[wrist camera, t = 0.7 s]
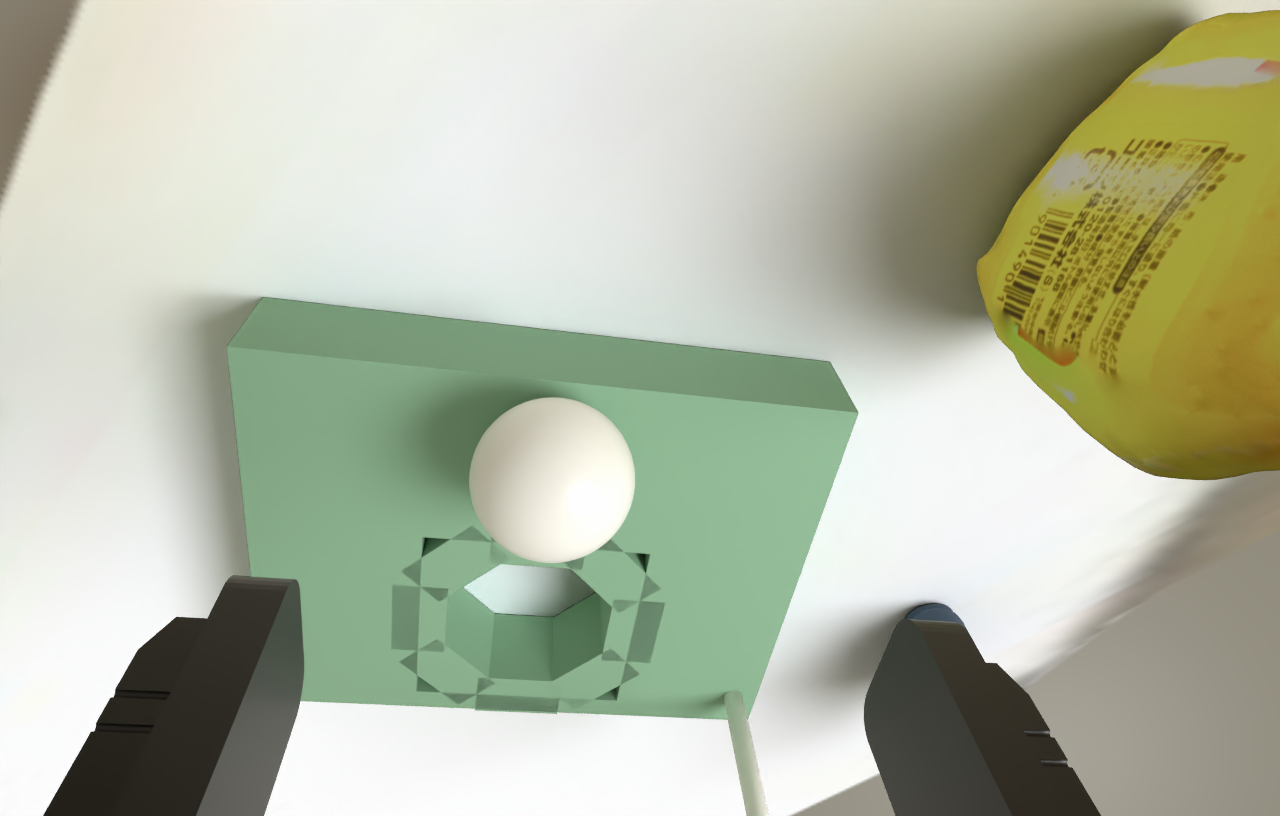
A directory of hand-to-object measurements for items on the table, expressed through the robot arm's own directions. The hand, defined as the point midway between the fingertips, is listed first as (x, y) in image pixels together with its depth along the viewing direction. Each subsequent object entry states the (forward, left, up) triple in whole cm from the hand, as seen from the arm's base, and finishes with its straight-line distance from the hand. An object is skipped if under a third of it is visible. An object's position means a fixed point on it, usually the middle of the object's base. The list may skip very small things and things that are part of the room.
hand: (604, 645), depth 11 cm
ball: (+7, 0, -13) cm, 14 cm away
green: (+13, 0, -19) cm, 23 cm away
